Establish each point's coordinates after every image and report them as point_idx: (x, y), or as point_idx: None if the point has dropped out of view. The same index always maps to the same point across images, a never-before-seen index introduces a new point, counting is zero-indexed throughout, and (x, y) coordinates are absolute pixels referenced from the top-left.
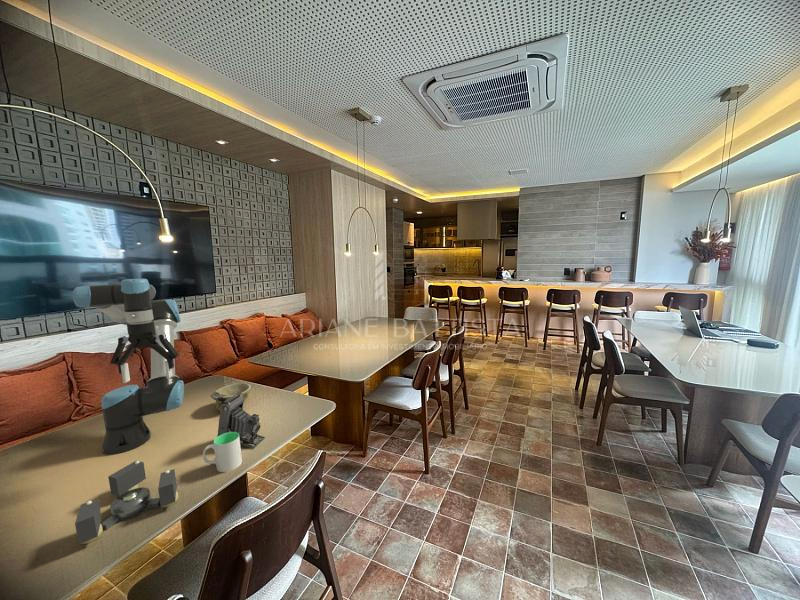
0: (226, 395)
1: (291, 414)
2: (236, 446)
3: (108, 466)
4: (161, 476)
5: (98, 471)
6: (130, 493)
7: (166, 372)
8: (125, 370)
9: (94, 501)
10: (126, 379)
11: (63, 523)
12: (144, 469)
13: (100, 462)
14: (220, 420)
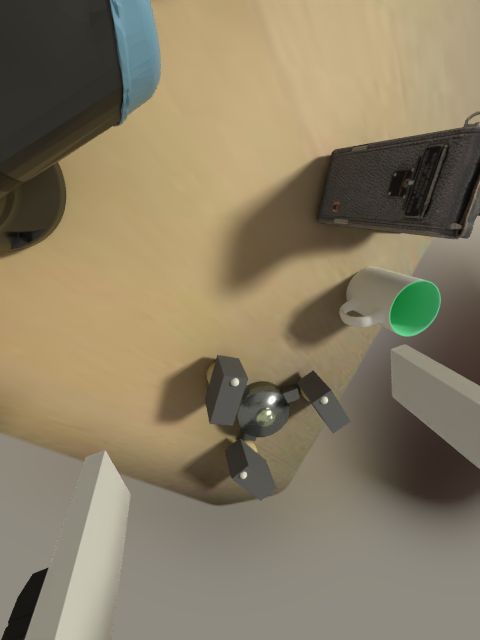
0: None
1: (475, 18)
2: (421, 309)
3: (74, 303)
4: (320, 410)
5: (69, 322)
6: (262, 414)
7: (435, 428)
8: (101, 607)
9: (248, 470)
10: (121, 506)
11: (170, 438)
12: (243, 369)
13: (25, 287)
14: (382, 229)
